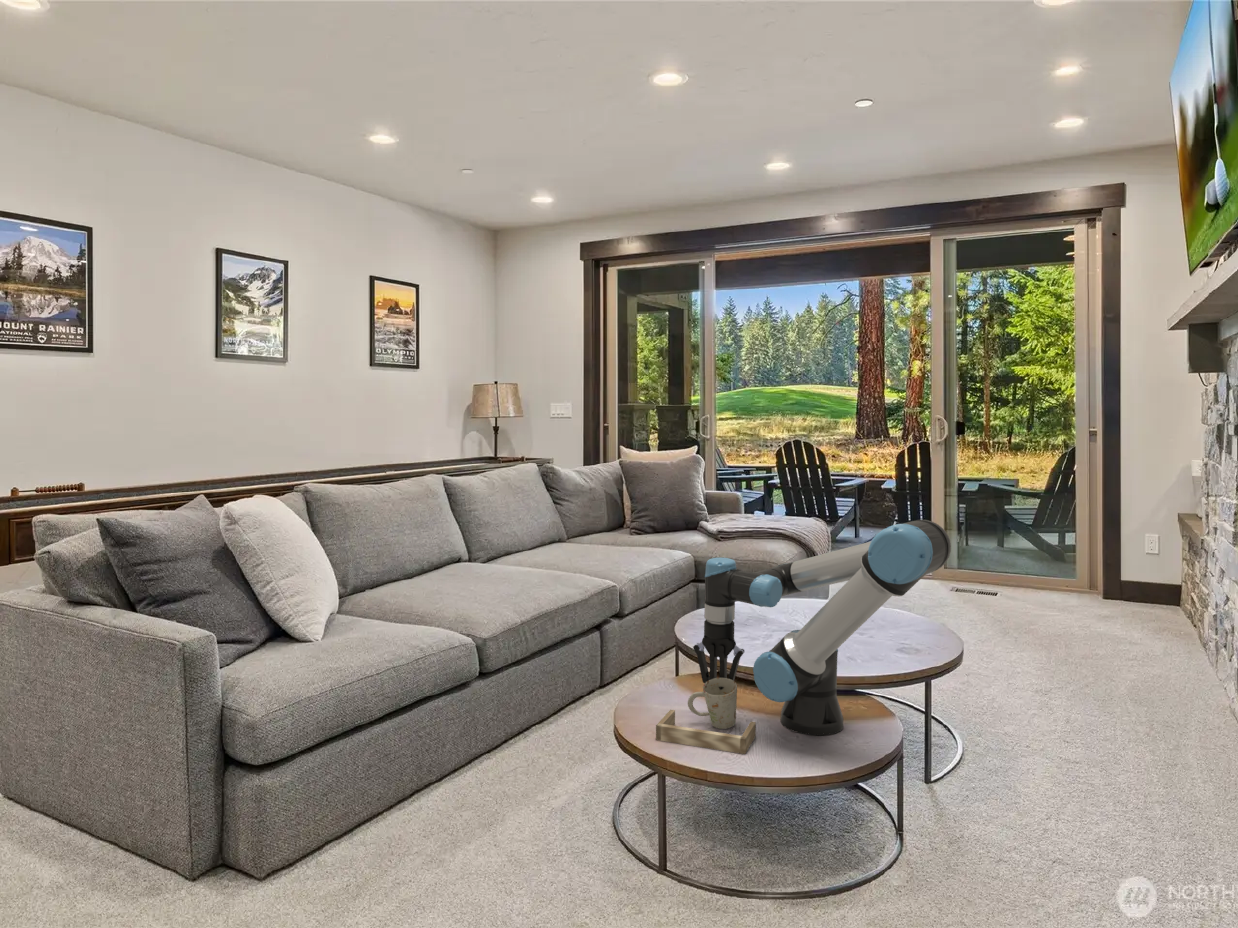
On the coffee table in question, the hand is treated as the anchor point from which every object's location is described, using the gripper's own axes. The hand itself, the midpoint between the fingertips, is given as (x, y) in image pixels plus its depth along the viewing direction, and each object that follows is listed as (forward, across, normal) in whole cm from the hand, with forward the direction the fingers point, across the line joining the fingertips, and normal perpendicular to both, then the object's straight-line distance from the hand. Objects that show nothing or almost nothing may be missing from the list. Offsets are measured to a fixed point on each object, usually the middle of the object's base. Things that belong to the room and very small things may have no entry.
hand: (717, 711), depth 205 cm
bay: (+2, -1, +13) cm, 13 cm away
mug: (+2, 0, +4) cm, 4 cm away
